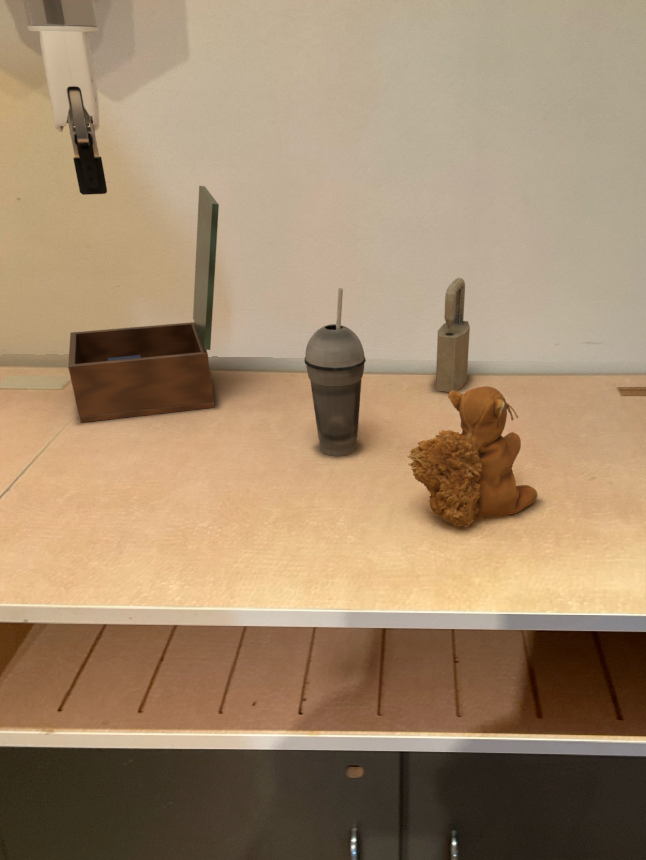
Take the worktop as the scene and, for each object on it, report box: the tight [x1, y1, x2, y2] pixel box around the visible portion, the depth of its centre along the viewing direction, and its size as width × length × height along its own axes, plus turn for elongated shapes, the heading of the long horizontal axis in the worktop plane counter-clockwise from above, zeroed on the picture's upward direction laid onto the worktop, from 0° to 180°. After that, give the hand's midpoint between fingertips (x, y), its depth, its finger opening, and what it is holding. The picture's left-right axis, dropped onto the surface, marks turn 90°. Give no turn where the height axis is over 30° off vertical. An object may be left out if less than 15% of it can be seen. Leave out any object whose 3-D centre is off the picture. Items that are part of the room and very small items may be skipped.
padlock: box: [435, 277, 471, 393], centre depth 115 cm, size 4×8×15 cm, turn 163°
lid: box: [192, 185, 220, 351], centre depth 107 cm, size 18×15×1 cm
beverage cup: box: [303, 288, 367, 457], centre depth 94 cm, size 7×7×20 cm
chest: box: [67, 321, 215, 423], centre depth 112 cm, size 18×15×8 cm
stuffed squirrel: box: [406, 385, 538, 528], centre depth 84 cm, size 10×14×13 cm
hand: (93, 192), depth 99 cm, fingers closed
